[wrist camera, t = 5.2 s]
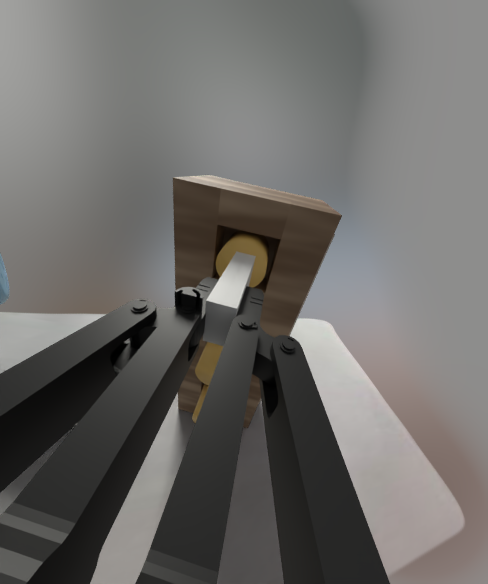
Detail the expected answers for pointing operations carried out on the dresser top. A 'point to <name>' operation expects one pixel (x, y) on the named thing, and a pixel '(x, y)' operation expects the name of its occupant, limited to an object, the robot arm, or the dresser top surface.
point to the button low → (200, 403)
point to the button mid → (208, 362)
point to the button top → (247, 245)
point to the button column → (281, 261)
